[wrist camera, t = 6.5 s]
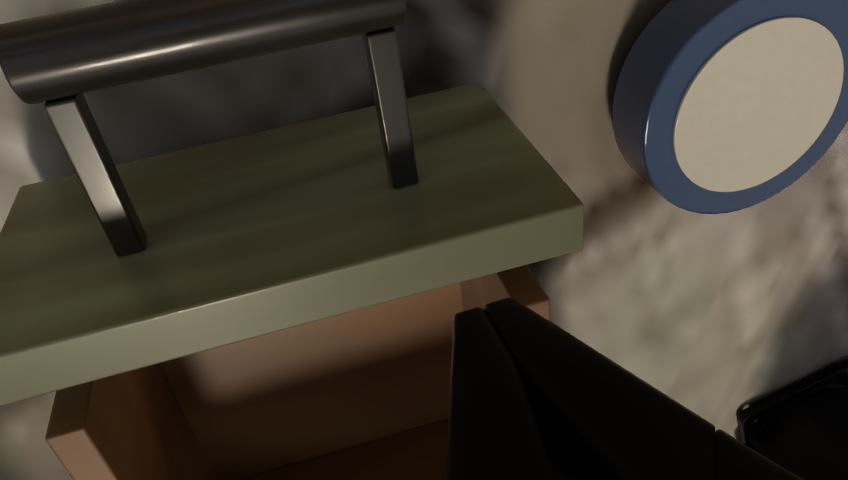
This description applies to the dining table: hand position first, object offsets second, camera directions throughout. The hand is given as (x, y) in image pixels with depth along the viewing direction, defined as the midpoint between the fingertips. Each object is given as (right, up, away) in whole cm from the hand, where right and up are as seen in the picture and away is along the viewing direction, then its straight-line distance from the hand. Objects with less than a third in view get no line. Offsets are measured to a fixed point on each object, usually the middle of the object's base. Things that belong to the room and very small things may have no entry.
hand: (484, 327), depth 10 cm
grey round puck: (+8, +7, +13) cm, 17 cm away
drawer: (-5, +1, +11) cm, 12 cm away
